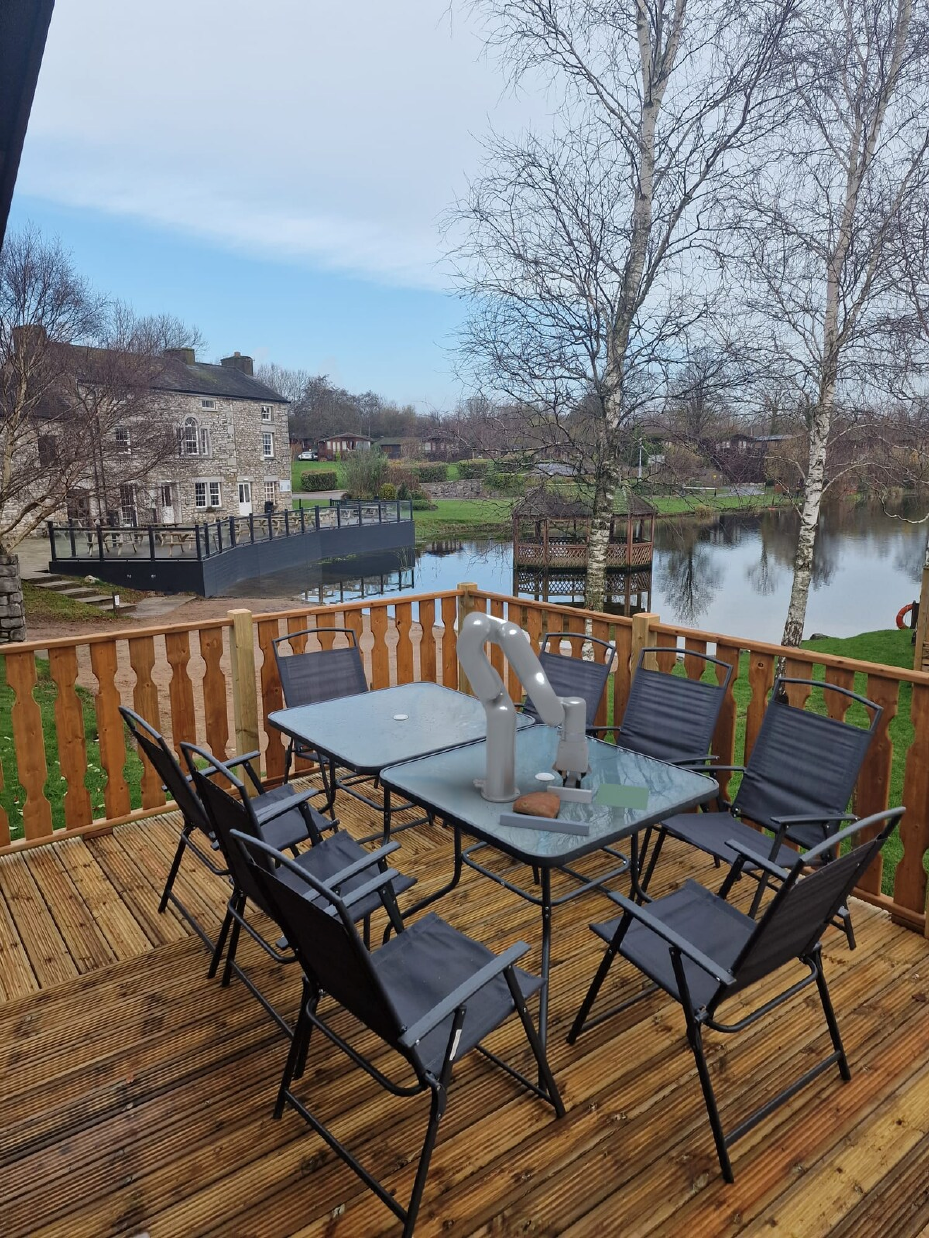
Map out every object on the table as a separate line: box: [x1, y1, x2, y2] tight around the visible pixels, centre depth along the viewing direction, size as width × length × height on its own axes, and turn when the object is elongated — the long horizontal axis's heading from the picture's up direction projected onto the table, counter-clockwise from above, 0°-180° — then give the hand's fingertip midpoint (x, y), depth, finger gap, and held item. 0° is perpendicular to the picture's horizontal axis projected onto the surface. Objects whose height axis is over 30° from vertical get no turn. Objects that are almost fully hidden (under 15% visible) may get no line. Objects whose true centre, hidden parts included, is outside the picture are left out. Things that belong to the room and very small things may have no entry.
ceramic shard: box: [512, 791, 561, 819], centre depth 234 cm, size 15×6×15 cm
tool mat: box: [593, 782, 650, 811], centre depth 244 cm, size 16×18×1 cm
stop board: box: [499, 811, 590, 836], centre depth 221 cm, size 26×2×3 cm, turn 74°
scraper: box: [546, 771, 593, 805], centre depth 246 cm, size 14×14×5 cm
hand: (571, 789), depth 246 cm, fingers closed on scraper, 3 cm apart
